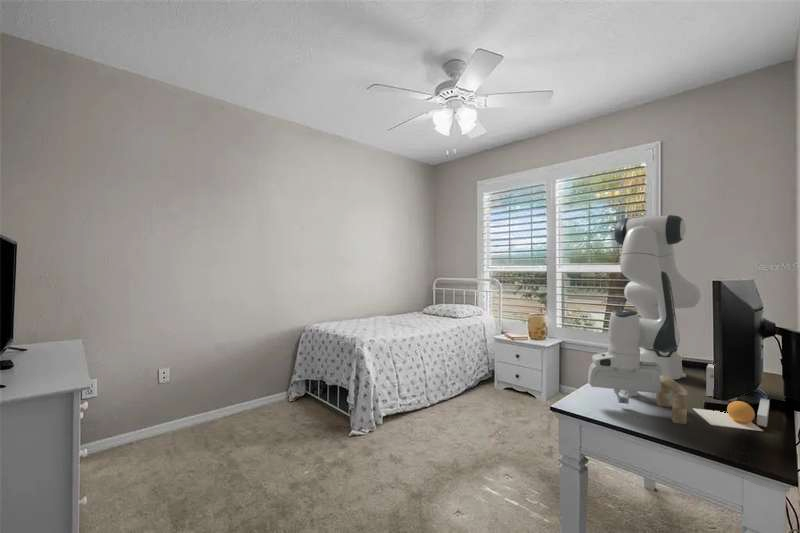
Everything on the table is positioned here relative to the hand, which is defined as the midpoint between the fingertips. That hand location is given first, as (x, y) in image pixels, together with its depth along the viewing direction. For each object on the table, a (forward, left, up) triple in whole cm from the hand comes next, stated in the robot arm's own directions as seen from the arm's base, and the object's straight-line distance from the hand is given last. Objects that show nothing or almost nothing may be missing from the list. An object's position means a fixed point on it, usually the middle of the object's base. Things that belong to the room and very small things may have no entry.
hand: (622, 402), depth 118 cm
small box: (-21, +35, -2) cm, 41 cm away
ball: (+1, +30, +1) cm, 30 cm away
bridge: (0, +13, -2) cm, 13 cm away
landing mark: (0, +27, -2) cm, 27 cm away
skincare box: (-15, +5, -2) cm, 16 cm away
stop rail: (-6, +39, -2) cm, 39 cm away
